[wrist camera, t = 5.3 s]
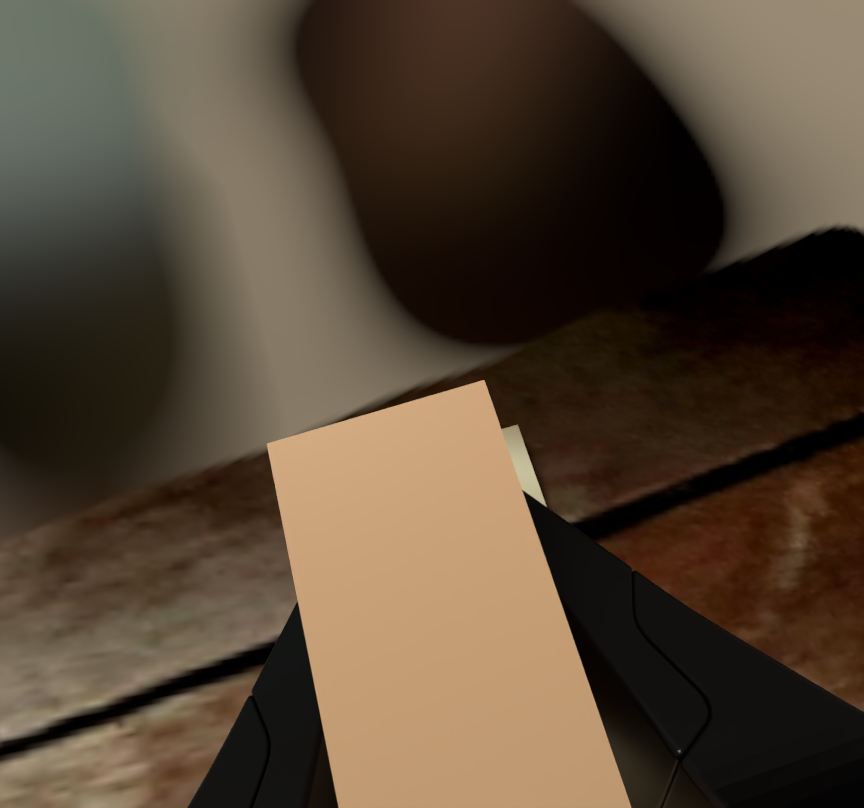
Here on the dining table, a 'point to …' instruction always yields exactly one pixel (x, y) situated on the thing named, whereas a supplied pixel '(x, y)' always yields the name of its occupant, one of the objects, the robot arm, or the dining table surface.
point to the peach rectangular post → (436, 616)
